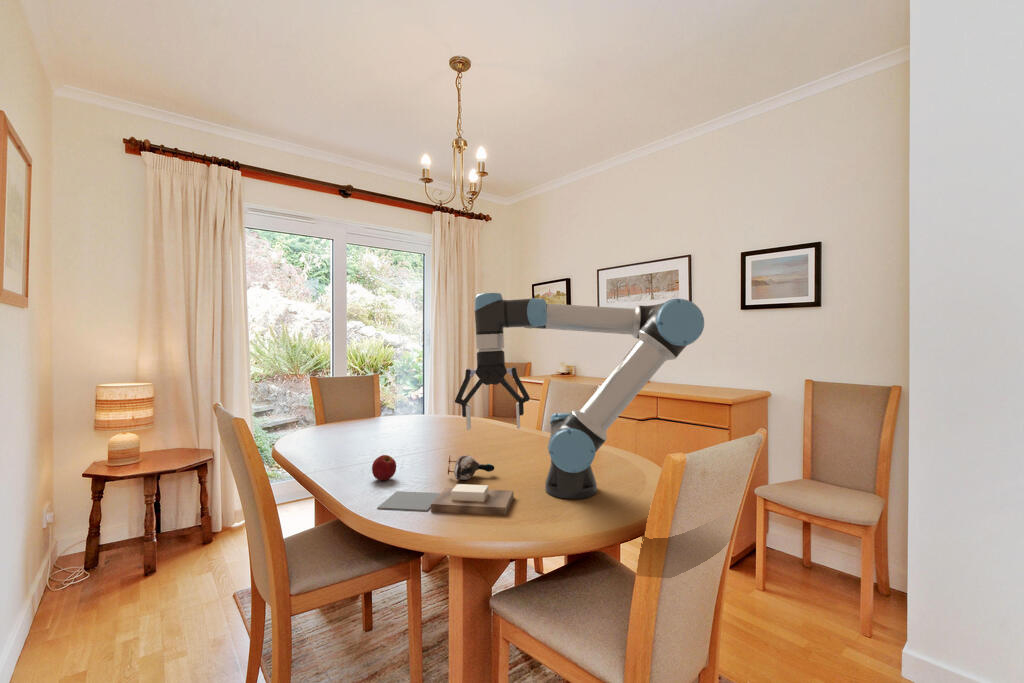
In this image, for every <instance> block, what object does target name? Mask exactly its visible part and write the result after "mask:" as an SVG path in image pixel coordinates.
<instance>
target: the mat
mask: <svg viewBox="0 0 1024 683" xmlns="http://www.w3.org/2000/svg"><path fill="white" fill-rule="evenodd" d="M440 493H441V492H425V491H424V492H421V491H401V490H397V491H395V492H394V493H393V494H392V495H390V496H389V497H388V498H387V499H385V501H383V502H382V503H381V504H379V505H378V506H377V508H376V509H377V510H388V511H389V510H392V511H409V512H411V511H413V512H414V511H416V512H428V511H429V510H431V503H432V502H433V501H434V500H435V499H436V498H437V497H438V496H439V495H440Z"/></svg>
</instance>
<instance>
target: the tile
mask: <svg viewBox="0 0 1024 683" xmlns="http://www.w3.org/2000/svg"><path fill="white" fill-rule="evenodd" d="M452 488H453V490H452V491H451V500H461V501H483V502H484V500H485V499H486V497H487V496H488V490H489V484H488V485H487V484H466V483H465V484H463V483H457V484H456V485H455V486H454V487H452Z"/></svg>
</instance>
